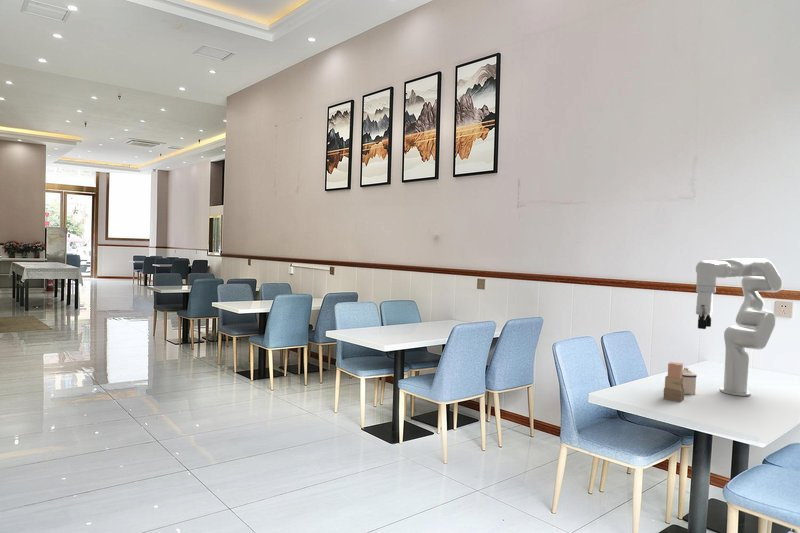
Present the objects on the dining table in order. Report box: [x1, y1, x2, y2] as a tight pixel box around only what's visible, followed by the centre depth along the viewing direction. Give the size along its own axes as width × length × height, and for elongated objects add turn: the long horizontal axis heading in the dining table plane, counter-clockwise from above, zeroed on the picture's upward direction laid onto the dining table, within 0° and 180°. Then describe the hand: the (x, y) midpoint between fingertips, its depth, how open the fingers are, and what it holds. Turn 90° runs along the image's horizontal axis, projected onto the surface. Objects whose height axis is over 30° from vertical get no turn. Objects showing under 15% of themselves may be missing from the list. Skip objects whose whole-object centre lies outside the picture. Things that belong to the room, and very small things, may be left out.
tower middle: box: [664, 375, 683, 391], centre depth 244 cm, size 6×6×5 cm
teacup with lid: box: [682, 366, 697, 396], centre depth 259 cm, size 12×9×12 cm
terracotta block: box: [667, 361, 684, 379], centre depth 244 cm, size 5×5×6 cm
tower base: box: [662, 387, 685, 403], centre depth 244 cm, size 7×7×5 cm
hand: (704, 327), depth 246 cm, fingers open, 9 cm apart
